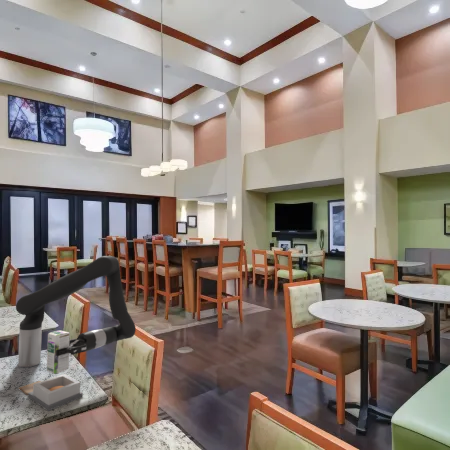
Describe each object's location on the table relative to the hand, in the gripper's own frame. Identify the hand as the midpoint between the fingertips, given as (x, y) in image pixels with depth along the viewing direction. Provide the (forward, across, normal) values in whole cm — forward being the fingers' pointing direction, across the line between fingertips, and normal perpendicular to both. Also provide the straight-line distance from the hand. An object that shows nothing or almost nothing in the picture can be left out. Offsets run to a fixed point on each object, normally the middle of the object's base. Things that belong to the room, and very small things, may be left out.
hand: (51, 351), depth 125 cm
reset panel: (-2, -1, +18) cm, 19 cm away
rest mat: (0, -14, +19) cm, 23 cm away
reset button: (-2, 0, +18) cm, 18 cm away
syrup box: (-3, 0, +8) cm, 9 cm away
